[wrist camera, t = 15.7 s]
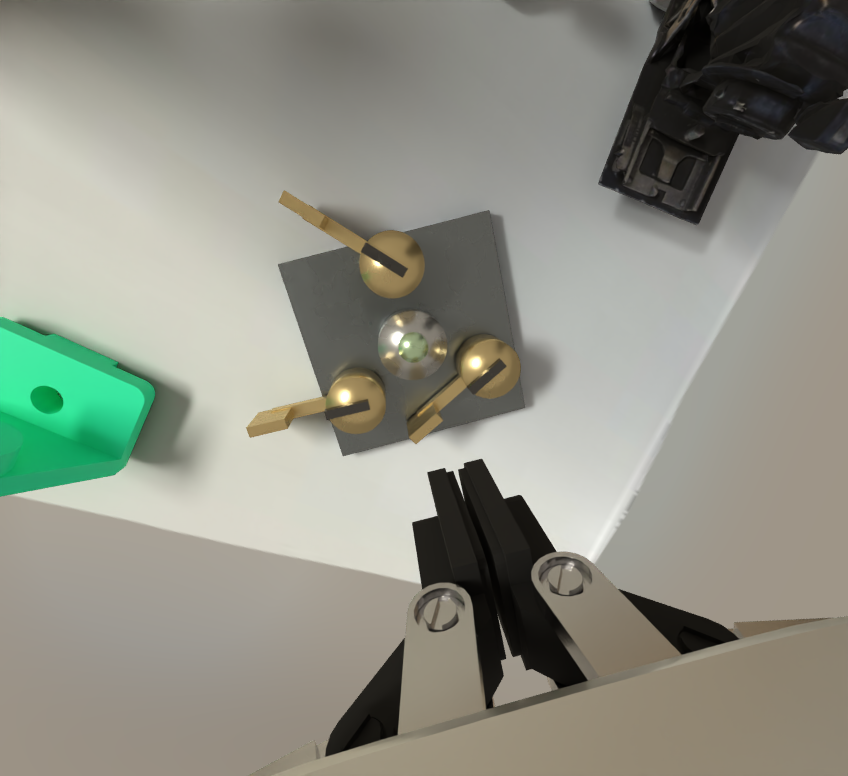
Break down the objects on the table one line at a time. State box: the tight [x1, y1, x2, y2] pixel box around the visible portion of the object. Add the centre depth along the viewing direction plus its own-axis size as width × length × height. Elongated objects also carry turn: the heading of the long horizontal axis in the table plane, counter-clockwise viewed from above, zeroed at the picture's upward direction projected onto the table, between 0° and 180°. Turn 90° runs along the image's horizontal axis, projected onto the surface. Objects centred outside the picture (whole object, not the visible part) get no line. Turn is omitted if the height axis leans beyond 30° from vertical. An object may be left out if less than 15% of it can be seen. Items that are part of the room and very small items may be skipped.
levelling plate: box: [278, 210, 525, 456], centre depth 32 cm, size 16×16×4 cm
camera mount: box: [0, 317, 155, 497], centre depth 28 cm, size 12×8×10 cm, turn 60°
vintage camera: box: [598, 0, 848, 225], centre depth 22 cm, size 10×15×20 cm, turn 162°
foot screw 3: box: [407, 334, 521, 444], centre depth 32 cm, size 10×4×4 cm, turn 132°
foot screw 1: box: [279, 191, 425, 298], centre depth 29 cm, size 10×4×4 cm, turn 59°
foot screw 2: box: [246, 368, 386, 438], centre depth 32 cm, size 10×4×4 cm, turn 102°
